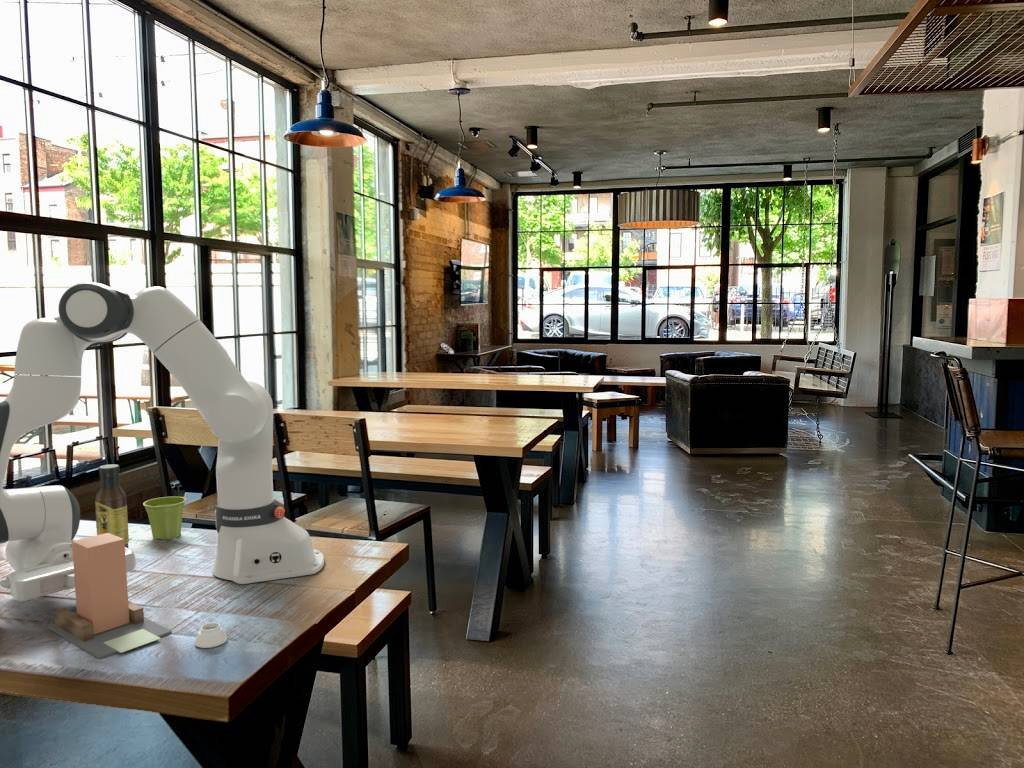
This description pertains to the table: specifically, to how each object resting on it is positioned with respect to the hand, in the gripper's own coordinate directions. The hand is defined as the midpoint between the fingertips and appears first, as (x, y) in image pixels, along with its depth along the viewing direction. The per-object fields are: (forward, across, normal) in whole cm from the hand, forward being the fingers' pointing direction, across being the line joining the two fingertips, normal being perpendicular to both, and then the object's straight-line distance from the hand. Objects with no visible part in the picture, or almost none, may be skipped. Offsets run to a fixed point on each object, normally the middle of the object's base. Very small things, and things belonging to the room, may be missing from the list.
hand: (93, 581), depth 135 cm
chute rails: (+2, 0, +8) cm, 8 cm away
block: (+3, 0, +8) cm, 8 cm away
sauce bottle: (-36, +20, +8) cm, 42 cm away
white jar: (+23, +8, +8) cm, 26 cm away
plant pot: (-38, +33, +8) cm, 51 cm away
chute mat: (+6, 0, +8) cm, 10 cm away
